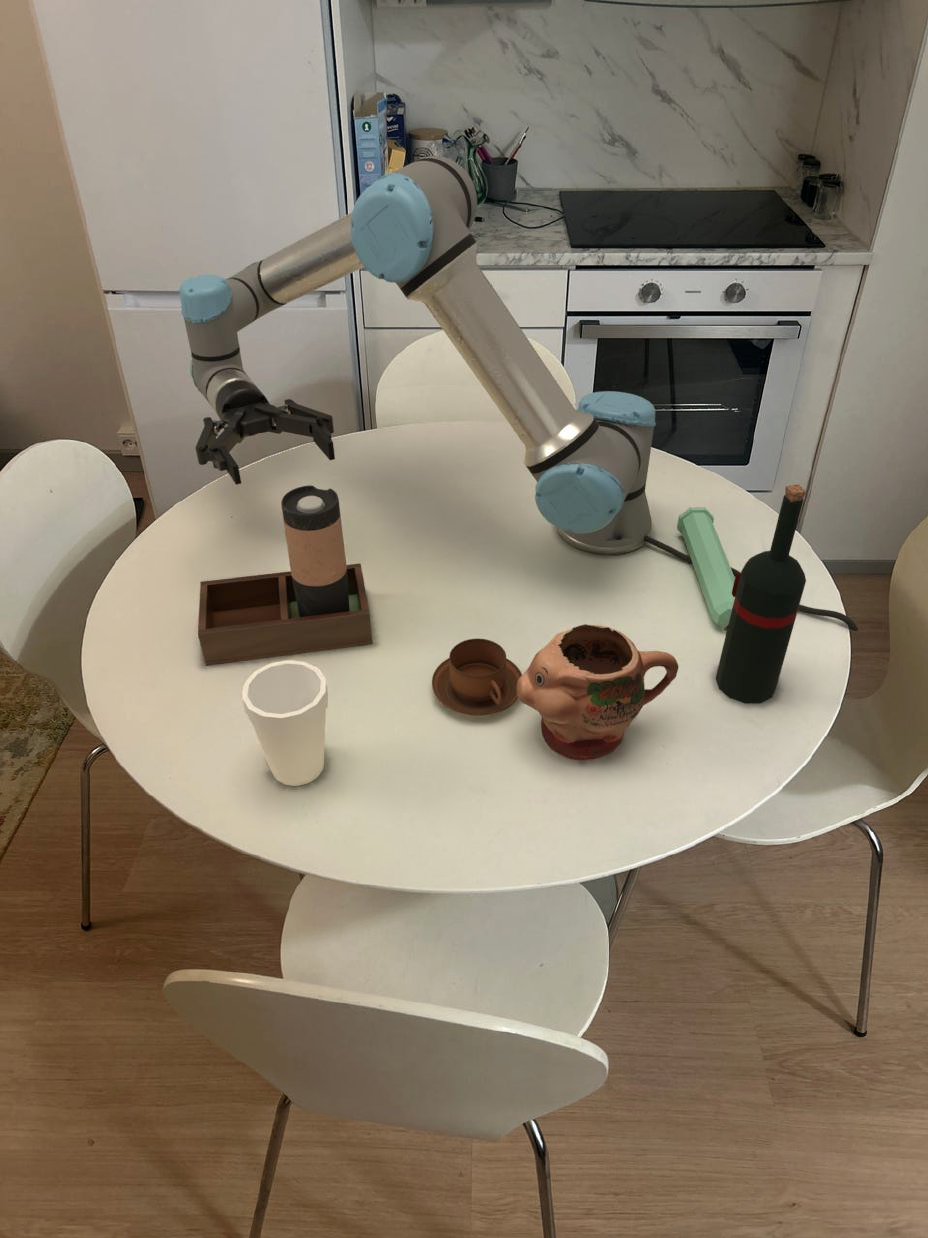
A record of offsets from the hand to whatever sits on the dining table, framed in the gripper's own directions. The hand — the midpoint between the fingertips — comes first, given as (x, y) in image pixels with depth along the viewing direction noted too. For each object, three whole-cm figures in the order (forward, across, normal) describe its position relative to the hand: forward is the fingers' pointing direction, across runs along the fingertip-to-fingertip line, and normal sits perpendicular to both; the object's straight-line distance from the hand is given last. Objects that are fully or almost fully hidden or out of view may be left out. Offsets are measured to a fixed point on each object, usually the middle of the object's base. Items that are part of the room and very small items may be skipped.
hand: (285, 463), depth 126 cm
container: (+28, -55, -22) cm, 66 cm away
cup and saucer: (+33, -12, -22) cm, 41 cm away
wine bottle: (+47, -45, -22) cm, 69 cm away
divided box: (+8, +5, -21) cm, 23 cm away
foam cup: (+34, +13, -22) cm, 42 cm away
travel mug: (+10, 0, -21) cm, 23 cm away
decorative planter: (+46, -22, -22) cm, 55 cm away
